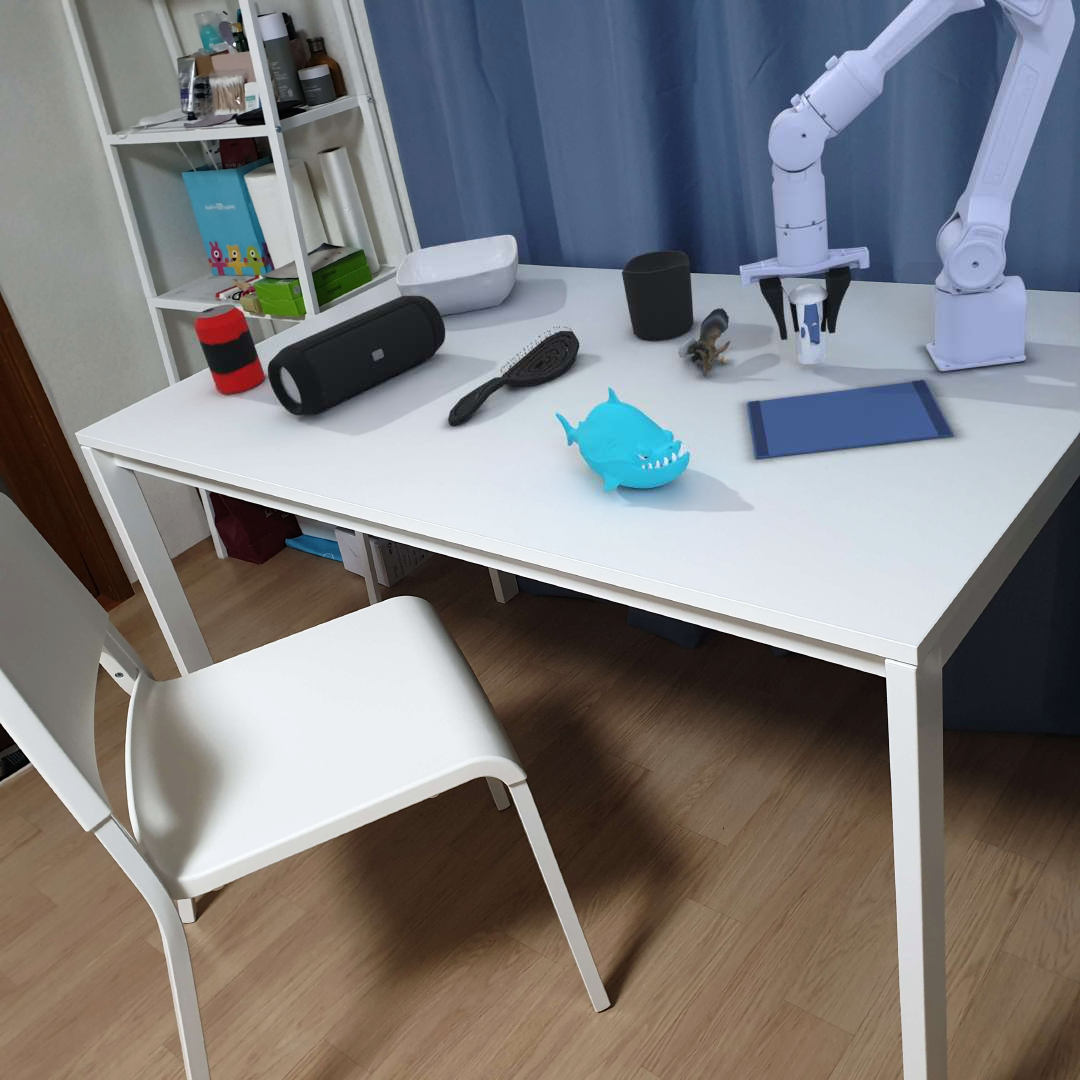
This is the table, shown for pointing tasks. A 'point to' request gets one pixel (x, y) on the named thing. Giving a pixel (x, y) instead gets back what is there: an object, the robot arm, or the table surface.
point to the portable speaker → (356, 355)
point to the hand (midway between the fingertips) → (807, 333)
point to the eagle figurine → (708, 340)
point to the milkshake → (809, 322)
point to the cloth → (846, 419)
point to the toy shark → (627, 446)
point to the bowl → (461, 274)
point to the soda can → (229, 349)
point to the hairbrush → (523, 372)
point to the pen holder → (659, 294)
